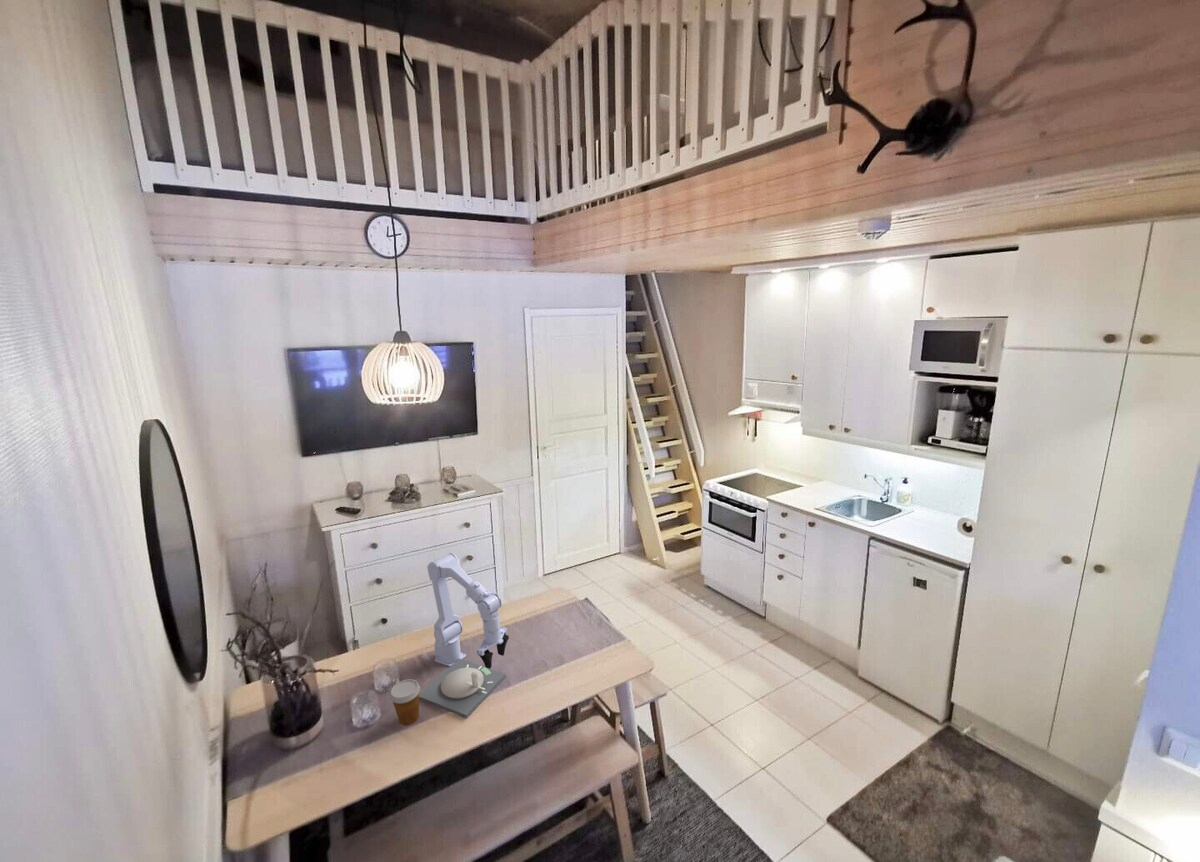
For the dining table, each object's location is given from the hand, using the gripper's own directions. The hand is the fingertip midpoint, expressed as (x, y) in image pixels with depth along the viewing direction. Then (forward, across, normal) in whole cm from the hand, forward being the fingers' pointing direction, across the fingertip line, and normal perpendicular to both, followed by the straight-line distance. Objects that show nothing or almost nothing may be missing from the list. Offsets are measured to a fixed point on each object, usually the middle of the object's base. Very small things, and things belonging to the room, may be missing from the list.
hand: (494, 660), depth 192 cm
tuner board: (+10, -7, +10) cm, 16 cm away
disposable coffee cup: (+10, -26, +18) cm, 33 cm away
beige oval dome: (+8, -7, +9) cm, 14 cm away
